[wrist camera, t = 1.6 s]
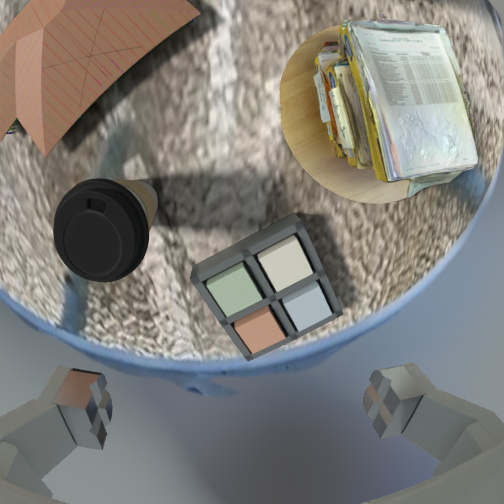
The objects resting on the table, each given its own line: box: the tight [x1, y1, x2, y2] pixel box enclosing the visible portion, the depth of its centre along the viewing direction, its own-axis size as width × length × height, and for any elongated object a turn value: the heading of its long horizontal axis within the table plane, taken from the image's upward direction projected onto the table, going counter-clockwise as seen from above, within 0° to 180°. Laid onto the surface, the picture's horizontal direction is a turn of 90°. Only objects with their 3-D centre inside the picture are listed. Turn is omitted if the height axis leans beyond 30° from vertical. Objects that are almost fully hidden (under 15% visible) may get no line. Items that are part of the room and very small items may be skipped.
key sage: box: [207, 261, 263, 317], centre depth 38 cm, size 5×5×2 cm
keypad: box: [190, 213, 343, 361], centre depth 41 cm, size 15×15×4 cm
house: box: [0, 0, 201, 157], centre depth 25 cm, size 23×33×8 cm
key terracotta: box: [234, 305, 286, 354], centre depth 40 cm, size 5×5×2 cm
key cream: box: [257, 235, 313, 292], centre depth 38 cm, size 5×5×2 cm
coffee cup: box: [53, 178, 158, 282], centre depth 30 cm, size 9×9×15 cm
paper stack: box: [280, 14, 478, 204], centre depth 28 cm, size 25×25×17 cm
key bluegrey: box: [282, 280, 332, 332], centre depth 40 cm, size 5×5×2 cm
